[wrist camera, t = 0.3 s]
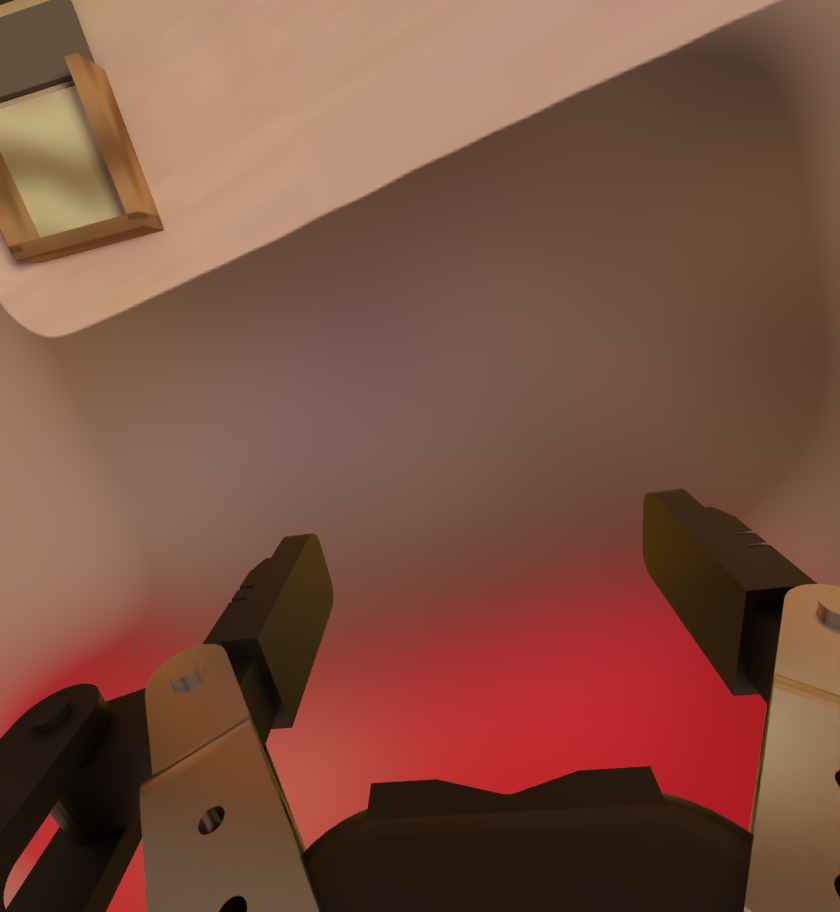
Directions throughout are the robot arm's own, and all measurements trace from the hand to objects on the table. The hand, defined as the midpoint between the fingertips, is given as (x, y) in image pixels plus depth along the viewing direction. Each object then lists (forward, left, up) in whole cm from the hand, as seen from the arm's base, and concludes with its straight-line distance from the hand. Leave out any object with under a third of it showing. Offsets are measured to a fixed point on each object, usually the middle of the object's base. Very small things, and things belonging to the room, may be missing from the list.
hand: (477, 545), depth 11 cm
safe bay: (-20, -26, -29) cm, 44 cm away
